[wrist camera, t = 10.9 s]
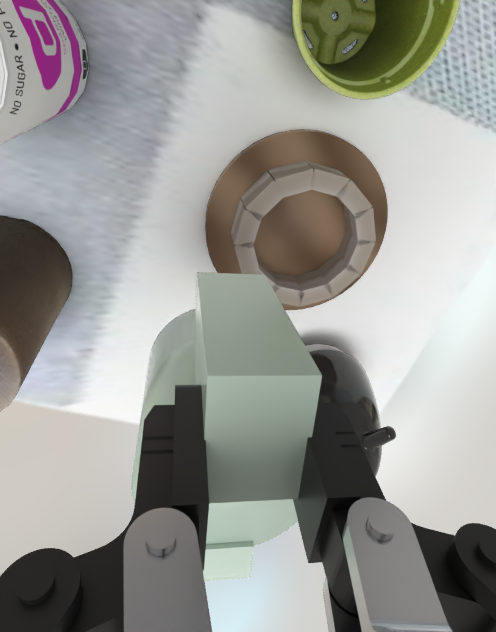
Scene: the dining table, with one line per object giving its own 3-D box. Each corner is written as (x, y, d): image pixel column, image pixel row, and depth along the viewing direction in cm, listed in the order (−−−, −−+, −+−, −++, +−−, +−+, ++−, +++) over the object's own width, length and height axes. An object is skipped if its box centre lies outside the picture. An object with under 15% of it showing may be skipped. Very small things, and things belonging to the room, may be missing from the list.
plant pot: (239, 3, 30) (258, -14, 22) (353, -112, 27) (415, -173, 20) (315, 116, 34) (351, 133, 27) (418, 26, 32) (488, 17, 24)
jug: (268, 434, 24) (335, 672, 13) (149, 437, 23) (121, 696, 12) (290, 246, 20) (410, 375, 9) (147, 240, 19) (103, 376, 8)
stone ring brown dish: (307, 82, 33) (322, 85, 29) (414, 223, 40) (437, 240, 36) (166, 228, 37) (164, 247, 34) (286, 332, 44) (295, 356, 41)
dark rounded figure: (374, 350, 47) (445, 461, 34) (317, 413, 51) (362, 535, 38) (299, 312, 43) (348, 421, 30) (245, 384, 47) (268, 507, 34)
